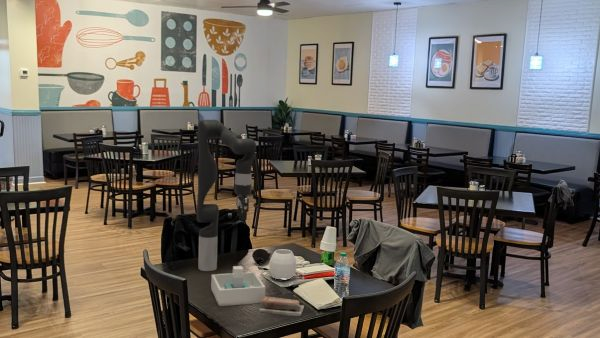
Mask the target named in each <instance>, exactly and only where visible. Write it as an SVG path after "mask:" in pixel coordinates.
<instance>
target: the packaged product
mask: <svg viewBox="0 0 600 338" xmlns="http://www.w3.org/2000/svg"><path fill="white" fill-rule="evenodd" d="M300 303H301V302H300V300H297V299H290V298H281V297H273V296H265V297H263V299H262V300H261V302H260V303H259V308H258V313H265V314H273V315H283V316H292V317H293V316H294V317H301V316H302V314H303V311H304V308H305V305H303V304H302V305H300Z"/></svg>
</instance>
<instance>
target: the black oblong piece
mask: <svg viewBox="0 0 600 338" xmlns="http://www.w3.org/2000/svg"><path fill="white" fill-rule="evenodd" d="M270 251H271V250H270V249H268V250H266V249H263V248H257V249H255V250H254V251H253V252H252V256H251V257H252V259H253V261H254V262H255V264H257V265H258V266H262V265H264V264H266V263H268V261H270V258H271V257H272V252H270ZM260 263H263V264H260Z"/></svg>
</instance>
